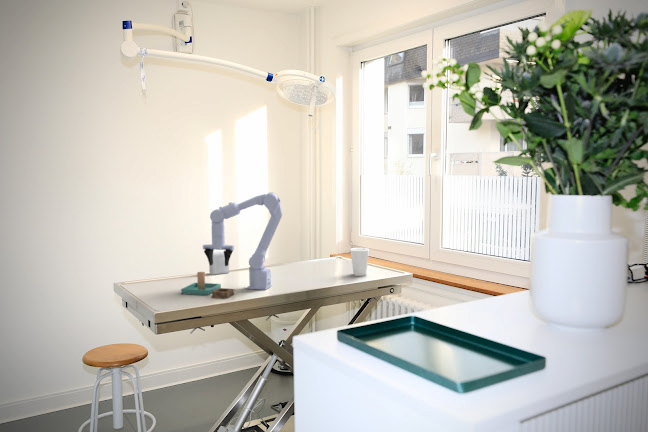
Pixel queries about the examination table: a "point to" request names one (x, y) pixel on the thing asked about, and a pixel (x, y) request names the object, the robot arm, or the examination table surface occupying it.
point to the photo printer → (218, 263)
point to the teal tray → (195, 291)
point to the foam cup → (359, 260)
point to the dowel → (201, 280)
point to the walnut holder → (222, 293)
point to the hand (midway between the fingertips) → (218, 265)
